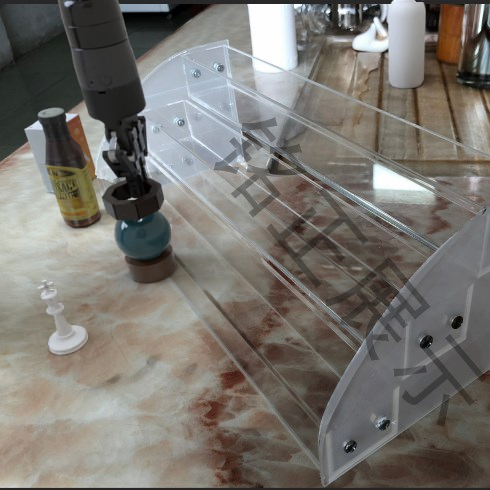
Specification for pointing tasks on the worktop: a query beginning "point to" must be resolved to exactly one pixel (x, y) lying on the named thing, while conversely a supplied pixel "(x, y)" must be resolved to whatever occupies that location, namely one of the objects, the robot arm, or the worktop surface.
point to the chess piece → (61, 324)
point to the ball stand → (146, 247)
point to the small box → (39, 146)
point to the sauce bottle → (68, 170)
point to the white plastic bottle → (406, 43)
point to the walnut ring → (132, 209)
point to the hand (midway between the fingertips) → (140, 193)
